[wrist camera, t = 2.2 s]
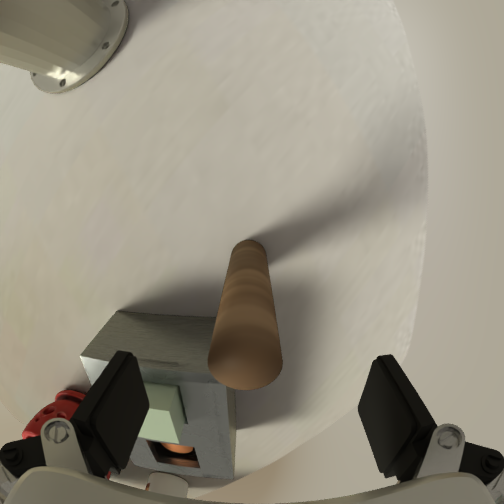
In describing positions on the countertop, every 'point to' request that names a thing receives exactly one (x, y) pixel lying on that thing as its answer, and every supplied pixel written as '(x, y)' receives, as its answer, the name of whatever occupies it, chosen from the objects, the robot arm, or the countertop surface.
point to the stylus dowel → (246, 323)
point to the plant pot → (55, 412)
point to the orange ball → (177, 448)
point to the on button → (163, 413)
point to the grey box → (175, 373)
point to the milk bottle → (167, 484)
